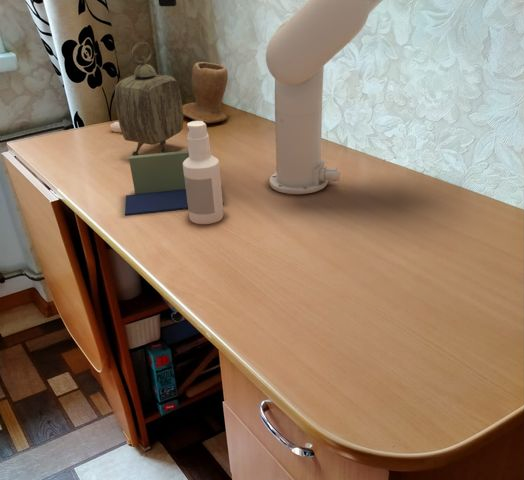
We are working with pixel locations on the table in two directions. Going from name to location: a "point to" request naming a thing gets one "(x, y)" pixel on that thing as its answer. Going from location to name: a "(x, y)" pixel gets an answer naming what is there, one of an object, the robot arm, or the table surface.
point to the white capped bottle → (202, 177)
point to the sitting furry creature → (115, 127)
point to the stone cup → (207, 93)
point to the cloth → (156, 202)
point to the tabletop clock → (148, 105)
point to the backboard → (158, 172)
